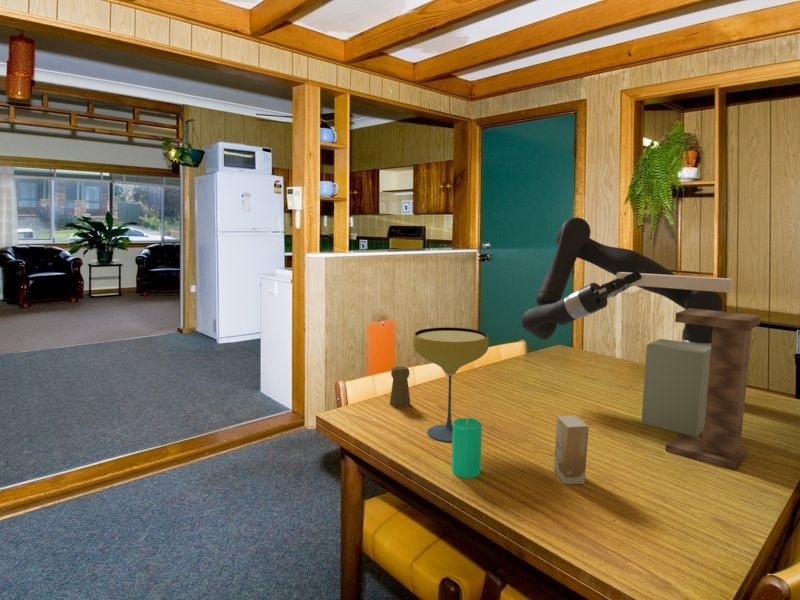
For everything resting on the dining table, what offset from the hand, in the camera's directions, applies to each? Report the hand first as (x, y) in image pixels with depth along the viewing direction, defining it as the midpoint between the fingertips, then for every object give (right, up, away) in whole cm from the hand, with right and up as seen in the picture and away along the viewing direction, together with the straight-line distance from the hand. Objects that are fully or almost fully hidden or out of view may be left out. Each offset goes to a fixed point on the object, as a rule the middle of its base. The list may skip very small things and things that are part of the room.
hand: (642, 274), depth 139 cm
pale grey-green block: (+9, -39, +1) cm, 40 cm away
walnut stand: (+7, -41, -17) cm, 45 cm away
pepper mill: (-63, -37, +16) cm, 74 cm away
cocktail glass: (-50, -40, -6) cm, 65 cm away
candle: (-49, -43, -26) cm, 70 cm away
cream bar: (+5, -4, -4) cm, 8 cm away
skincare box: (-28, -43, -29) cm, 59 cm away
